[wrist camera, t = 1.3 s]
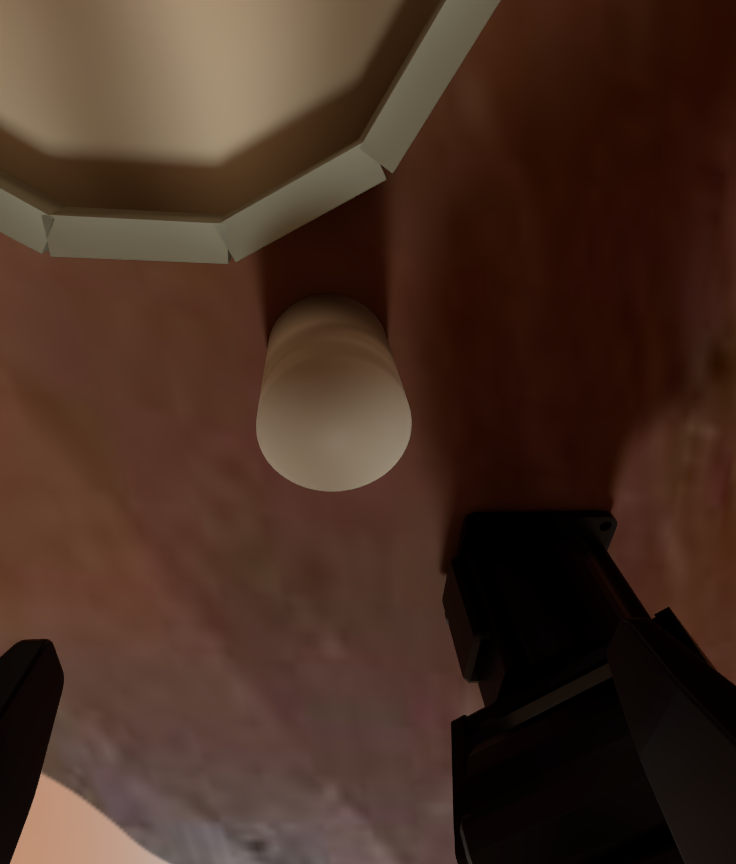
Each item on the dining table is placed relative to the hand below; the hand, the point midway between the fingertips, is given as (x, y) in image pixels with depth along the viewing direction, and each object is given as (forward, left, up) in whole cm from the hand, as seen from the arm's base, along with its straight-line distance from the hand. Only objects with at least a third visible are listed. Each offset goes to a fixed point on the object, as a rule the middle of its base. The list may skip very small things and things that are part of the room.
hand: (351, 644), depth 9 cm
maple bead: (0, 0, -12) cm, 12 cm away
